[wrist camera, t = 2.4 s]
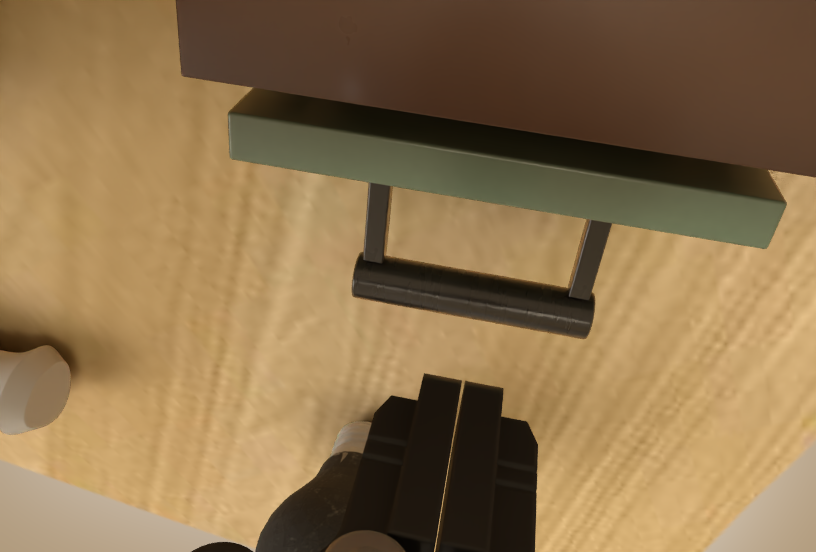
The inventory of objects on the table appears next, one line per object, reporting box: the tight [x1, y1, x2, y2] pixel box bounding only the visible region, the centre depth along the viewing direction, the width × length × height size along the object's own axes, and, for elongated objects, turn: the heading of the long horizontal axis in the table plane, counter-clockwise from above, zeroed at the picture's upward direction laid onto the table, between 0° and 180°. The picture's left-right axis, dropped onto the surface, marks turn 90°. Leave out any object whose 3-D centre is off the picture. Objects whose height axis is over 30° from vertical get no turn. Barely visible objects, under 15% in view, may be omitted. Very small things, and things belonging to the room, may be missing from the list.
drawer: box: [228, 88, 787, 339], centre depth 18 cm, size 18×12×8 cm
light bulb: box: [256, 421, 371, 552], centre depth 29 cm, size 6×6×10 cm
